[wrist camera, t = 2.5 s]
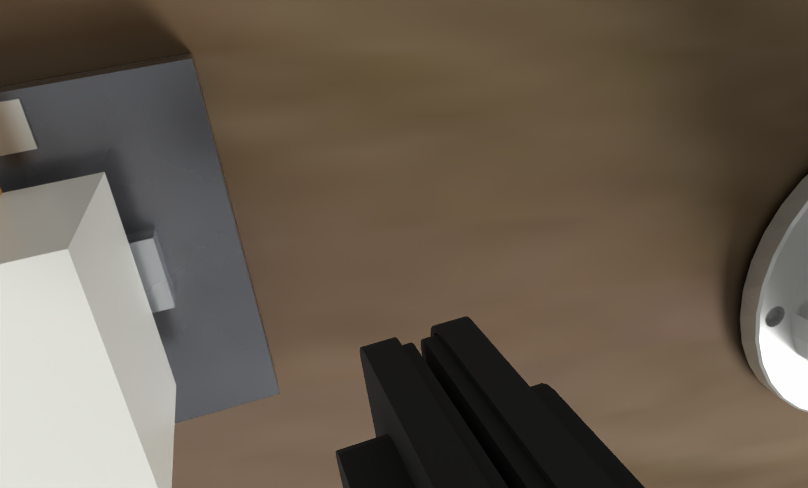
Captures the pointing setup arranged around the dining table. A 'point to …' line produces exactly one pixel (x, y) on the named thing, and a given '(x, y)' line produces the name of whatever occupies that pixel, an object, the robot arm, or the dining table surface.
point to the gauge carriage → (78, 347)
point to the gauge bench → (154, 211)
